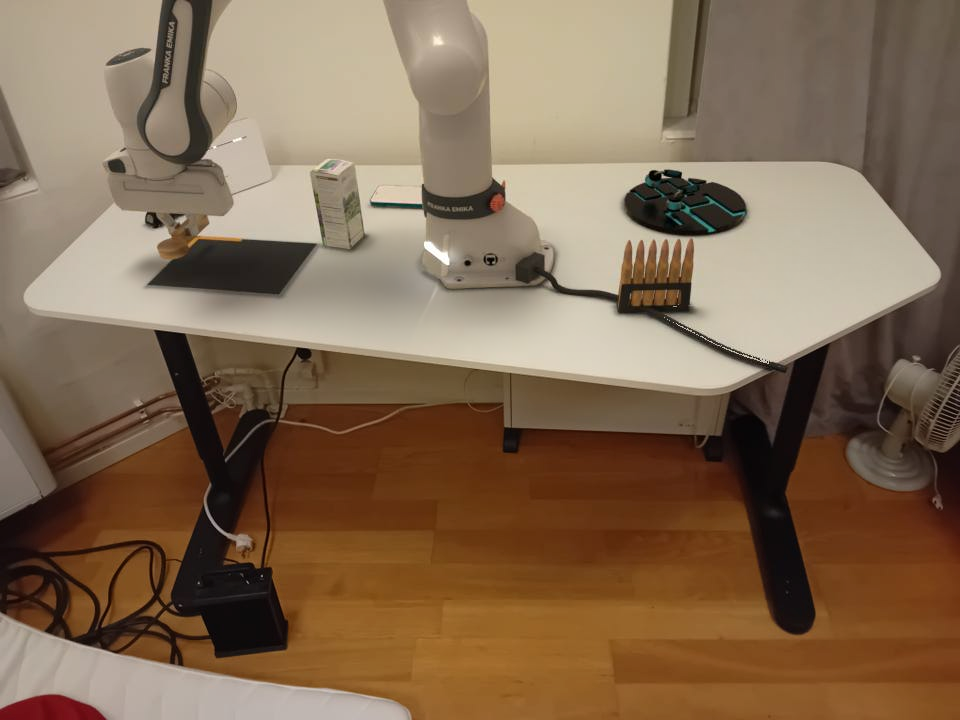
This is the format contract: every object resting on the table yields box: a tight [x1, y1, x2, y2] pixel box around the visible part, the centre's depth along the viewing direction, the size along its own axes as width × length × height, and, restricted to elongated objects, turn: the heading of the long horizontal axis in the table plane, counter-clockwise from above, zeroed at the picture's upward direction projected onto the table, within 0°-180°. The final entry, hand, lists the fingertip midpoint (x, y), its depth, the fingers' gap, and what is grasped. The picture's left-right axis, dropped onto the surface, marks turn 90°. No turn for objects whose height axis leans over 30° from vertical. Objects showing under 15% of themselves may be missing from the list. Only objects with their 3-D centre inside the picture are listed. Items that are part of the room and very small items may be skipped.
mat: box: [147, 235, 318, 296], centre depth 130 cm, size 24×17×1 cm
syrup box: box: [309, 158, 365, 250], centre depth 131 cm, size 6×6×14 cm
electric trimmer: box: [144, 212, 177, 228], centre depth 148 cm, size 4×16×3 cm, turn 142°
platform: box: [623, 168, 747, 237], centre depth 138 cm, size 22×22×6 cm
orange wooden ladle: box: [156, 215, 210, 260], centre depth 128 cm, size 13×5×3 cm, turn 168°
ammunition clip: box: [616, 237, 695, 314], centre depth 110 cm, size 11×2×12 cm, turn 88°
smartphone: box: [369, 184, 423, 209], centre depth 148 cm, size 8×1×16 cm
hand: (184, 234), depth 128 cm, fingers closed on orange wooden ladle, 2 cm apart
